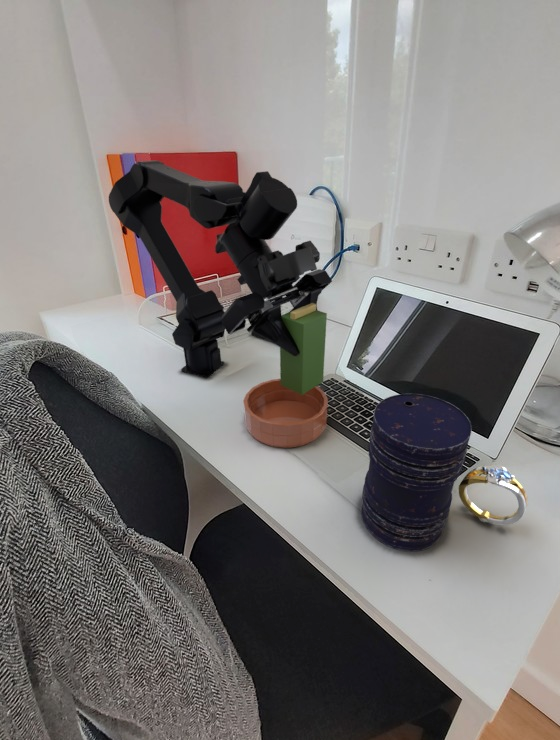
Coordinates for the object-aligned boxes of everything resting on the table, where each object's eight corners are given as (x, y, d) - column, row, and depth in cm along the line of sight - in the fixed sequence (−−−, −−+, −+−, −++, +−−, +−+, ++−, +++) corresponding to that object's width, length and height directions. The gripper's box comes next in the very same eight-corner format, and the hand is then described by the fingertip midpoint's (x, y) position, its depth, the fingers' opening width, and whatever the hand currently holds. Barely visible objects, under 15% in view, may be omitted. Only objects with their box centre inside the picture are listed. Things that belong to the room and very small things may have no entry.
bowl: (230, 434, 65) (228, 411, 63) (268, 393, 75) (267, 372, 73) (307, 458, 60) (308, 434, 57) (337, 411, 70) (339, 388, 67)
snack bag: (280, 384, 64) (279, 309, 58) (301, 372, 67) (303, 299, 61) (301, 395, 62) (303, 317, 55) (323, 381, 65) (327, 306, 58)
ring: (449, 511, 51) (463, 463, 47) (459, 497, 53) (474, 449, 49) (510, 544, 47) (531, 494, 43) (518, 526, 49) (540, 477, 45)
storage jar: (460, 544, 47) (494, 442, 39) (379, 559, 46) (397, 456, 38) (419, 482, 55) (440, 388, 47) (349, 493, 54) (359, 398, 46)
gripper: (229, 235, 49) (298, 346, 48) (325, 213, 60) (382, 303, 60) (196, 286, 58) (254, 380, 57) (285, 258, 69) (334, 337, 68)
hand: (309, 348), depth 60 cm, fingers closed on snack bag, 5 cm apart
